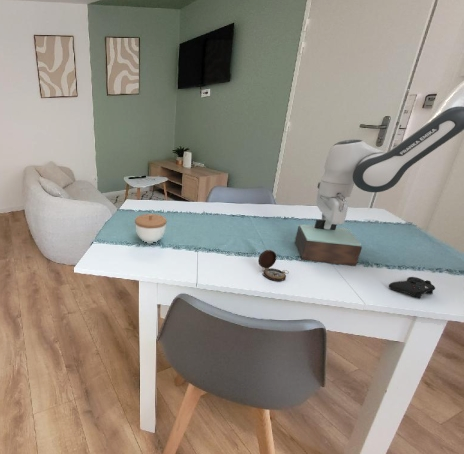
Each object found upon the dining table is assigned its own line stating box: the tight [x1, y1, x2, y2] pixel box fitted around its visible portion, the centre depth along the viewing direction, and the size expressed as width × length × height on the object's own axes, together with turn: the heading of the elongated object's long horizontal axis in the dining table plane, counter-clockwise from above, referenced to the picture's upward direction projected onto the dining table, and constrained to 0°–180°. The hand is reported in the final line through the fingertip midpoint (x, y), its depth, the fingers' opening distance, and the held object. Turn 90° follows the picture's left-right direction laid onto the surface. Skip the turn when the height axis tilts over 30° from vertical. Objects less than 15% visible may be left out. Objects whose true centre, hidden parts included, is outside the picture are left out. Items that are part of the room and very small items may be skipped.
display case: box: [294, 225, 363, 267], centre depth 102 cm, size 15×14×7 cm
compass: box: [257, 249, 290, 282], centre depth 91 cm, size 8×8×7 cm
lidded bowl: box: [134, 213, 168, 244], centre depth 118 cm, size 13×13×11 cm
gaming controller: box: [388, 276, 436, 299], centre depth 81 cm, size 10×5×6 cm
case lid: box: [298, 219, 363, 247], centre depth 100 cm, size 15×14×4 cm
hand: (325, 226), depth 104 cm, fingers closed
